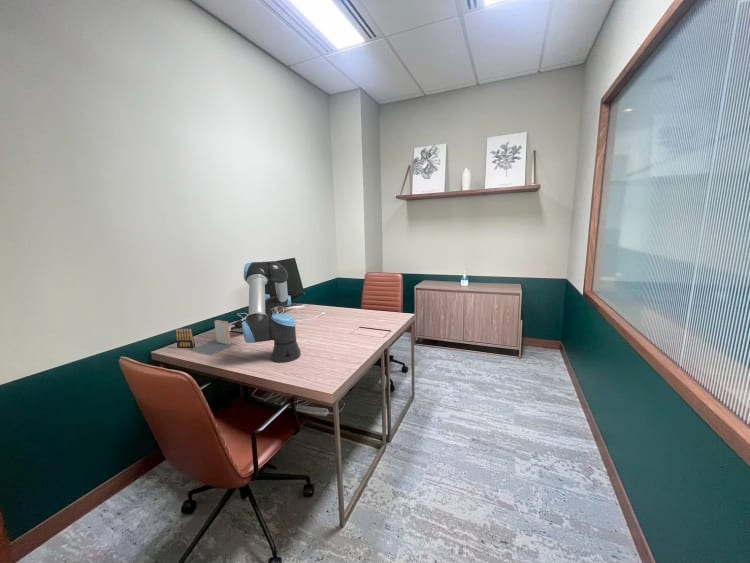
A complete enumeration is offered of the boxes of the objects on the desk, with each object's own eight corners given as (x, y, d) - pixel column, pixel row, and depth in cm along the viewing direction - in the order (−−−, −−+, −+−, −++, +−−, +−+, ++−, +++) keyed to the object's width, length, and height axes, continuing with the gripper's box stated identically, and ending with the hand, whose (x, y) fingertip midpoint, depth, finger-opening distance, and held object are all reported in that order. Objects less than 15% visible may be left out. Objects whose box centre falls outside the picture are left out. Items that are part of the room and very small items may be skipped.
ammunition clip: (177, 348, 177) (174, 329, 175) (179, 347, 179) (176, 328, 177) (193, 348, 175) (190, 329, 174) (195, 347, 177) (192, 328, 175)
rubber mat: (237, 344, 180) (237, 344, 180) (210, 355, 165) (210, 355, 164) (216, 340, 189) (216, 339, 189) (188, 350, 173) (188, 349, 173)
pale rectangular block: (230, 343, 182) (228, 321, 179) (227, 344, 180) (224, 322, 177) (219, 341, 186) (217, 320, 184) (216, 342, 184) (213, 321, 182)
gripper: (262, 325, 203) (233, 337, 182) (249, 323, 209) (219, 334, 188) (261, 315, 202) (231, 325, 181) (248, 313, 207) (217, 323, 186)
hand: (225, 330), depth 184 cm, fingers closed
